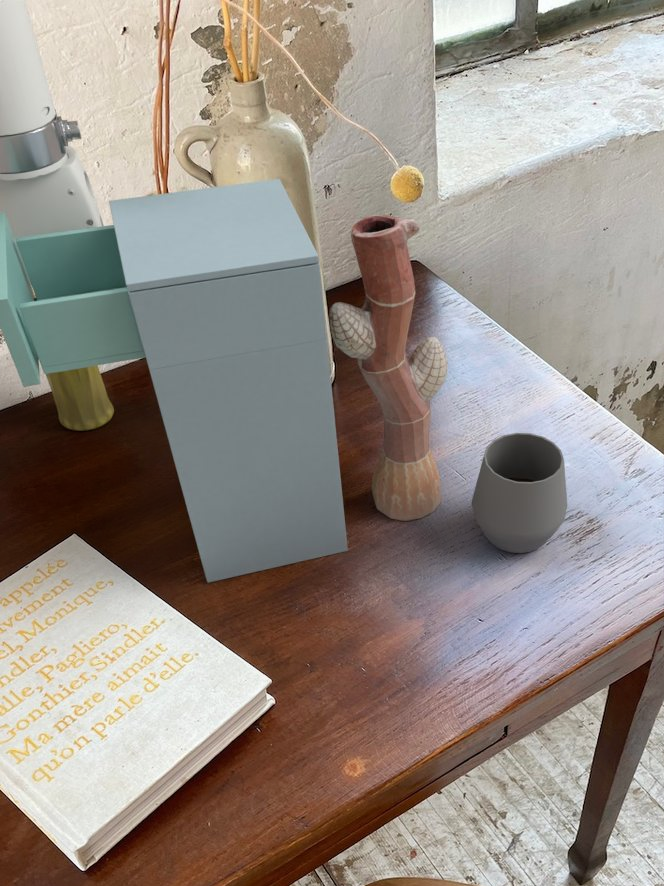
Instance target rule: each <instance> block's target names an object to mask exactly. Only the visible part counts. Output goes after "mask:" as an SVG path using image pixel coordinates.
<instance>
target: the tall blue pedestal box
mask: <svg viewBox="0 0 664 886" xmlns="http://www.w3.org/2000/svg"><path fill="white" fill-rule="evenodd" d="M108 204H109V209H110V215H111V219H112V225H114V229H115V233H116V238H117V243H118V248H119V253H120V257H121V262H122V267H123V272H124V277H125V282H126V286H127V290H128V293H129V297H130V301H131V304H132V308H133V312H134V315H135V319H136V323H137V326H138V330H139V334H140V337H141V341H142V345H143V348H144V352H145V356H146V357H145V359H146V363H147V366H148V370H149V375H150V377H151V382H152V385H153V389H154V392H155V396H156V399H157V403H158V407H159V411H160V414H161V419H162V422H163V425H164V429H165V433H166V436H167V440H168V444H169V448H170V451H171V455H172V458H173V462H174V465H175V469H176V472H177V476H178V477H177V478H178V481H179V484H180V488H181V491H182V495H183V499H184V502H185V505H186V510H187V513H188V517H189V521H190V523H191V524H190V525H191V528H192V532H193V536H194V539H195V543H196V546H197V550H198V553H199V558H200V561H201V565H202V568H203V573H204V577H205V579H206V583H207V584H209V583H212V582H218V581H221V580H222V581H223V580H226V579H230V578H235V577H239V576H244V575H247V574H248V575H249V574H252V573H258V572H261V571H266V570H270V569H274V568H279V567H283V566H288V565H292V564H296V563H301V562H306V561H310V560H313V559H319V558H323V557H328V556H332V555H335V554H340V553H345V552H348V550H349V548H348V540H347V538H348V537H347V529H346V520H345V509H344V498H343V489H342V479H341V468H340V459H339V458H340V457H339V449H338V439H337V438H338V437H337V428H336V427H337V426H336V418H335V408H334V407H335V406H334V398H333V387H332V377H331V367H330V359H329V348H328V338H327V328H326V317H325V308H324V296H323V285H322V277H321V267H320V257H319V254H318V252H317V250H316V248H315V246H314V244H313V242H312V240H311V238H310V236H309V234H308V232H307V230H306V228H305V226H304V224H303V223H302V220H301V218H300V216H299V214H298V213H297V210H296V208H295V207H294V204H293V202H292V200H291V198H290V197H289V194H288V193H287V191H286V188H285V187H284V185H283V183H282V181H281V179H280V178H274V179H267V180H260V181H253V182H245V183H237V184H230V185H221V186H212V187H206V188H205V187H204V188H199V189H189V190H182V191H175V192H173V191H172V192H165V193H158V194H152V195H144V196H135V197H128V198H127V197H126V198H120V199H112V200H109V201H108Z"/></svg>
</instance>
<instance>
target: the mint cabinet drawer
mask: <svg viewBox="0 0 664 886" xmlns="http://www.w3.org/2000/svg"><path fill="white" fill-rule="evenodd" d="M16 243H17V245H16ZM17 246H18V248H19V251H20V254H21V256H20V254H19V251H18V248H17ZM21 257H22V259H21ZM22 260H23V262H24V265H25V268H26V270H25V268H24V265H23V262H22ZM26 271H27V273H26ZM27 274H28V276H29V279H30V282H31V284H30V282H29V279H28V276H27ZM34 295H35V296H36V299H37V301H34ZM0 332H1V334H2V336H3V339H4V341H5V344H6V346H7V349H8V352H9V354H10V356H11V359H12V362H13V364H14V366H15V369H16V371H17V374H18V377H19V379H20V381H21V384H22V386H23V388H26V387H27V388H28V387H31V386H33V387H34V386H37V385H41V374H40V373H41V372H40V366H41V369H42V372H43V374H44V375H46V374H49V373H55V372H61V371H67V370H73V369H79V368H85V367H91V366H103V365H107V364H109V365H110V364H114V363H120V362H125V361H132V360H138V359H143V358H146V356H145V352H144V348H143V345H142V341H141V337H140V334H139V330H138V326H137V323H136V319H135V315H134V312H133V308H132V304H131V301H130V297H129V293H128V290H127V286H126V282H125V277H124V272H123V267H122V262H121V257H120V253H119V248H118V243H117V238H116V233H115V229H114V224H110V225H109V224H108V225H104V226H101V227H94V228H86V229H79V230H71V231H64V232H57V233H49V234H42V235H34V236H27V237H20V238H16V242H15V240H14V237H13V234H12V231H11V228H10V226H9V223H8V220H7V217H6V214H5V212H1V213H0Z"/></svg>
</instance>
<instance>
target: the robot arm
mask: <svg viewBox="0 0 664 886" xmlns="http://www.w3.org/2000/svg"><path fill="white" fill-rule="evenodd" d="M26 1H27V0H0V213H1V212H5V214H6V217H7V220H8V223H9V226H10V228H11V231H12V234H13V237H14V240H15V242H16V238H20V237H27V236H34V235H42V234H49V233H57V232H64V231H71V230H79V229H86V228H94V227H101V226H105V225H104V222H103V218H102V216H101V212H100V209H99V206H98V203H97V200H96V196H95V193H94V191H93V187H92V184H91V181H90V179H89V177H88V175H87V171H86V170H85V167H84V164H83V162H82V160H81V158H80V156H79V154H78V151H77V150H76V149H75V148H74V147H73V146H71V145H69V143H72V142H73V140H82V135H81V129H80V125H79V122H78V120H71V121H68V119H62V116H61V115H60V116H59V115H58V114H57V113H58V112H57V109H56V108H55V104H54V102H53V97H52V94H51V89H50V86H49V82H48V79H47V75H46V71H45V67H44V63H43V59H42V56H41V52H40V49H39V45H38V41H37V39H36V34H35V30H34V27H33V24H32V19H31V16H30V13H29V8H28V5H27V2H26ZM16 245H17V243H16ZM17 248H18V246H17ZM18 251H19V248H18ZM19 254H20V251H19ZM20 256H21V254H20ZM21 259H22V257H21ZM22 262H23V260H22ZM23 265H24V262H23ZM24 268H25V265H24ZM25 270H26V268H25ZM26 273H27V271H26ZM27 276H28V274H27ZM28 279H29V276H28ZM29 282H30V279H29ZM30 284H31V282H30ZM34 301H37V300H36V299H35V298H34Z"/></svg>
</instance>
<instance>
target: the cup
mask: <svg viewBox="0 0 664 886" xmlns="http://www.w3.org/2000/svg"><path fill="white" fill-rule="evenodd" d="M566 479H567V478H566V469H565V458H564V455H563V452H562V449H560V447H559V446H558V445H557V444H556V443H555V442H553V441H552V440H550V439H548V438H547V437H545V436H542V435H538V434H535V433H531V432H513V433H509V434H504V435H501V436H499V437H498V438H495V439H493V440H492V441H491V442H490V443H489V444H488V445H487V446H486V447H485V451H484V454H483V457H482V460H481V464H480V468H479V473H478V476H477V480H476V483H475V488H474V491H473V495H472V498H471V509H472V513H473V517H474V518H473V519H474V520H475V522H476V523H477V525H478V527H479V528H480V530H481V531H482V532H483V534H484V536H485V537H486V538H487V539H488V540H489V543H491V544H492V545H493V546H494V547H496V548H498V549H499V550H500V551H501V550H502V551H505V552H507V553H508V552H509V553H510V554H511V553H513V554H514V553H515V554H525V553H529V552H534V551H536V550H537V549H539V548H541V547H542V546H544V545H545V544H546V543H547V542H548V541H549V540H550V538H552V536H554V535H555V534H556V532H557V531H558V530H559V529H560V527H562V525H563V524H564V522H565V520H566V515H567V510H568V495H567V481H566Z"/></svg>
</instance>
